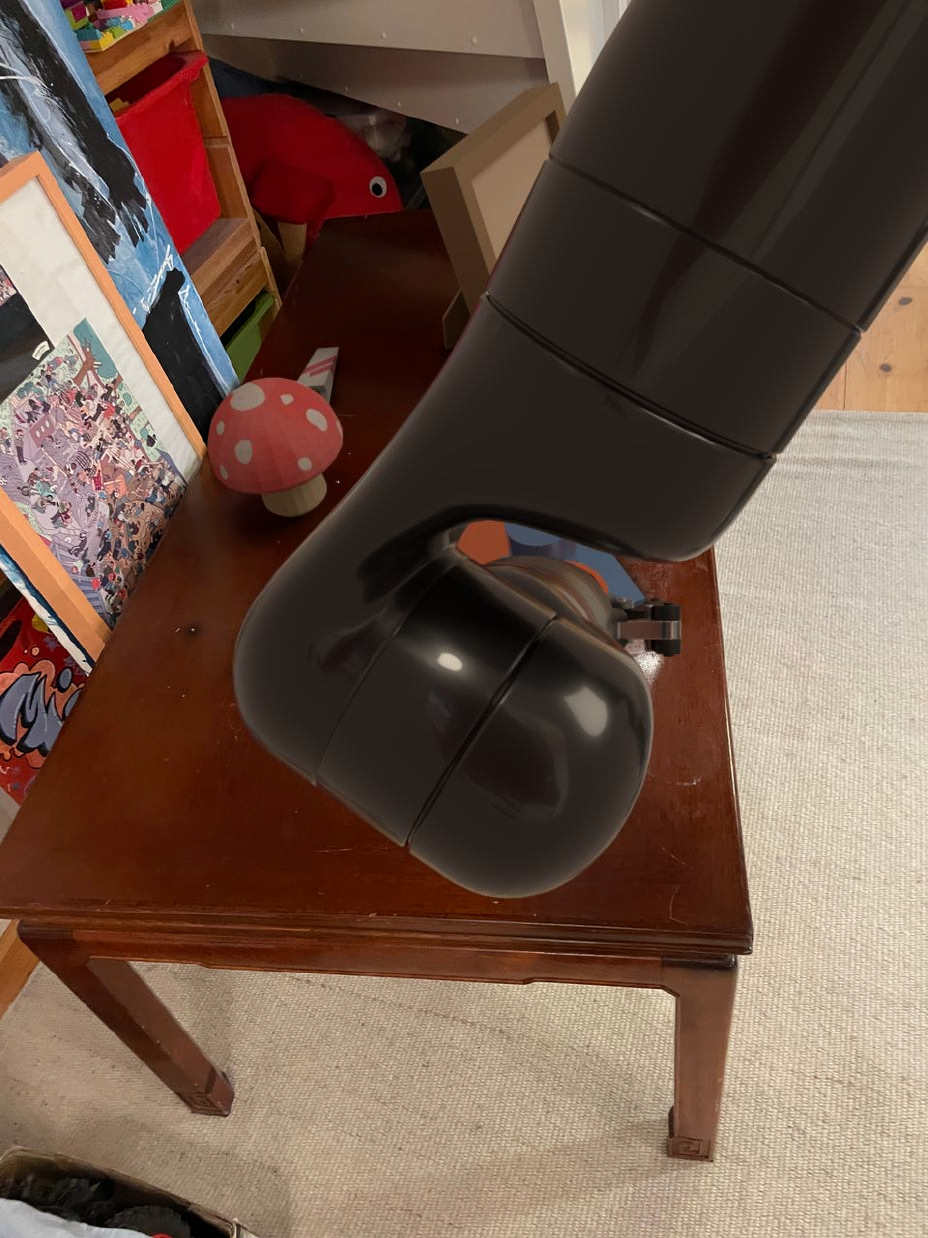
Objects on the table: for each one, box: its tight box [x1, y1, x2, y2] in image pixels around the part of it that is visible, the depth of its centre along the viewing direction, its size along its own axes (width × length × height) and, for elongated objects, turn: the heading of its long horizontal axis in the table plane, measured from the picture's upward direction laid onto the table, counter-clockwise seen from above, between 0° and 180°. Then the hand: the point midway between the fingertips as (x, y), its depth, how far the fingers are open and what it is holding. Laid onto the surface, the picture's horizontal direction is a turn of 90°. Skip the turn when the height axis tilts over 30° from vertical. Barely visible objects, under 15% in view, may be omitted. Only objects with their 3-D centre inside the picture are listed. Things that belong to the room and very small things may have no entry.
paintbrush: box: [296, 346, 340, 404], centre depth 105 cm, size 4×3×20 cm
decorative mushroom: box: [207, 377, 344, 518], centre depth 88 cm, size 13×13×15 cm
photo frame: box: [419, 81, 567, 351], centre depth 101 cm, size 15×22×25 cm
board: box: [458, 521, 646, 609], centre depth 84 cm, size 14×22×1 cm, turn 21°
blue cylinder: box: [504, 523, 579, 563], centre depth 77 cm, size 6×6×8 cm
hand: (561, 616), depth 55 cm, fingers closed on red cup, 6 cm apart
